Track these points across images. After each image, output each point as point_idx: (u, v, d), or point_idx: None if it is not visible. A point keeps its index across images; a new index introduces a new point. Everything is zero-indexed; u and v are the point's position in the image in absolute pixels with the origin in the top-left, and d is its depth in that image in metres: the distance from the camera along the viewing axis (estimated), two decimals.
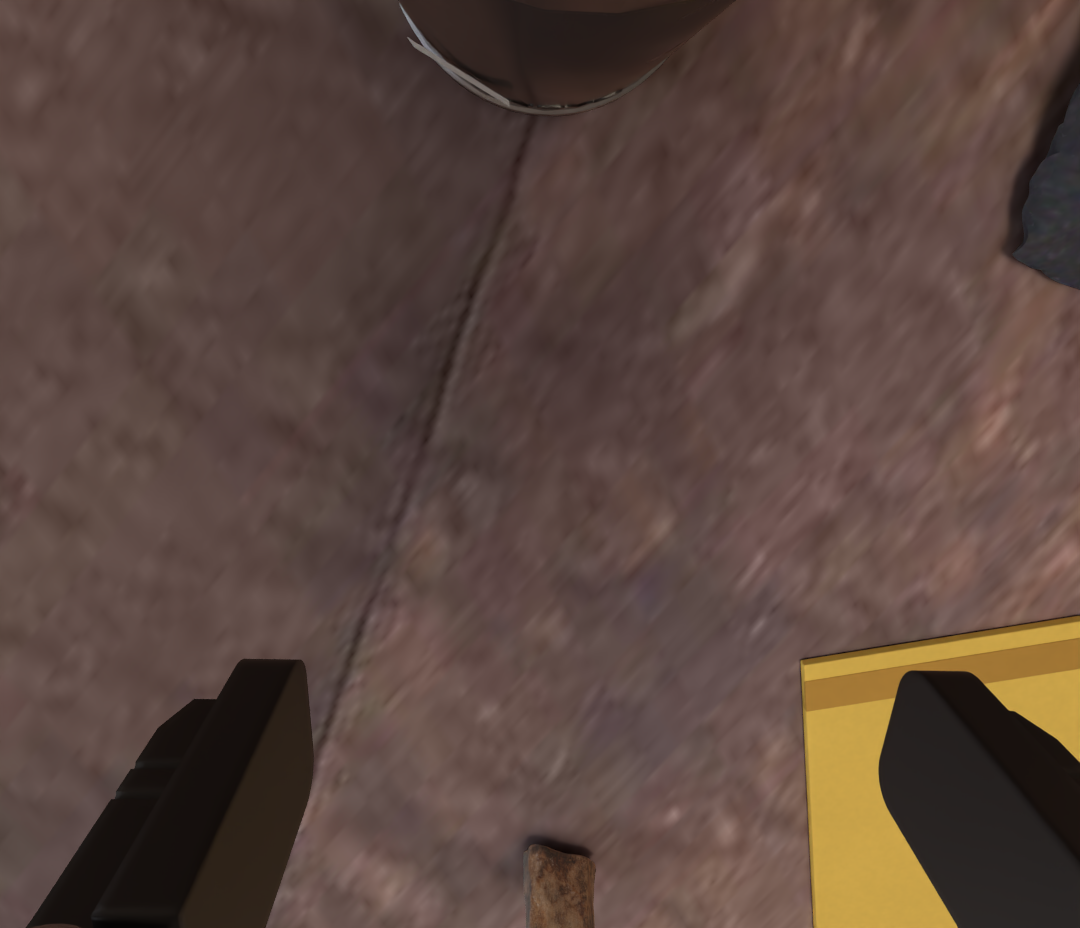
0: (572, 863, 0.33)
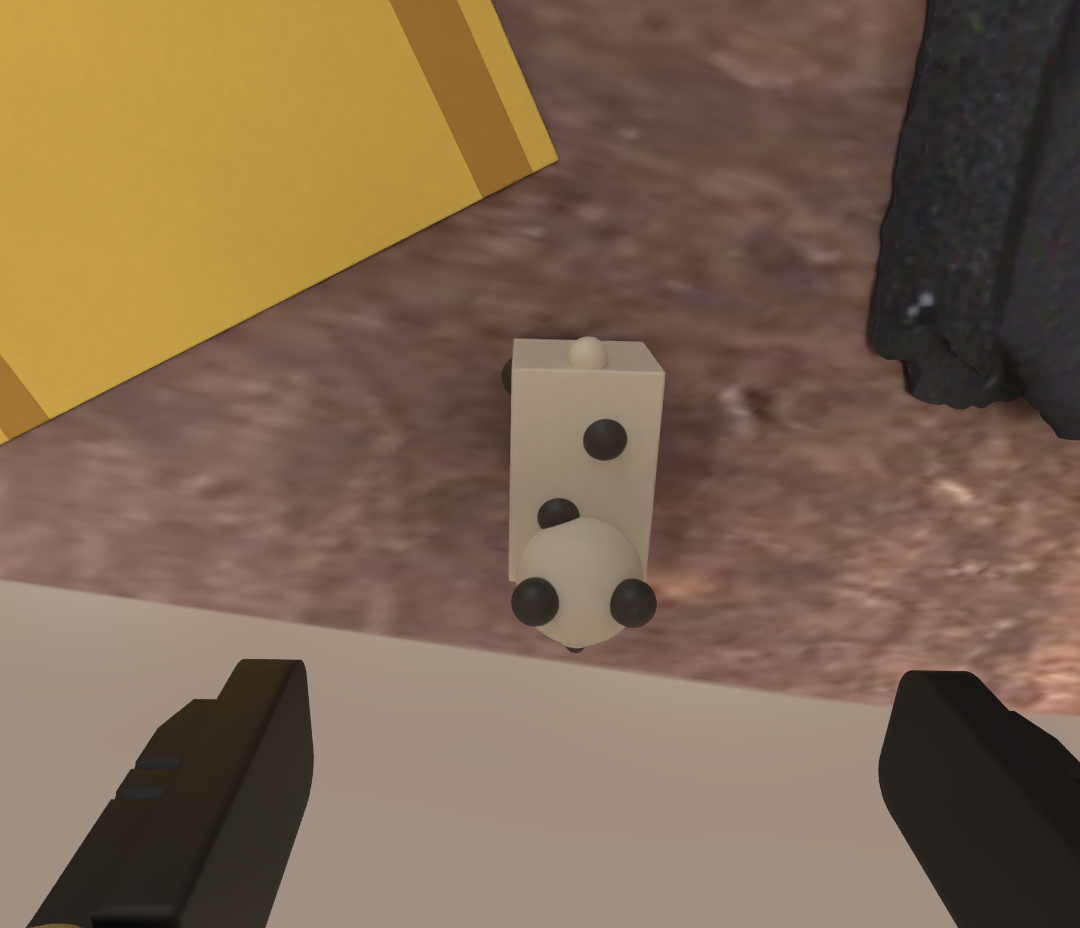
0: None
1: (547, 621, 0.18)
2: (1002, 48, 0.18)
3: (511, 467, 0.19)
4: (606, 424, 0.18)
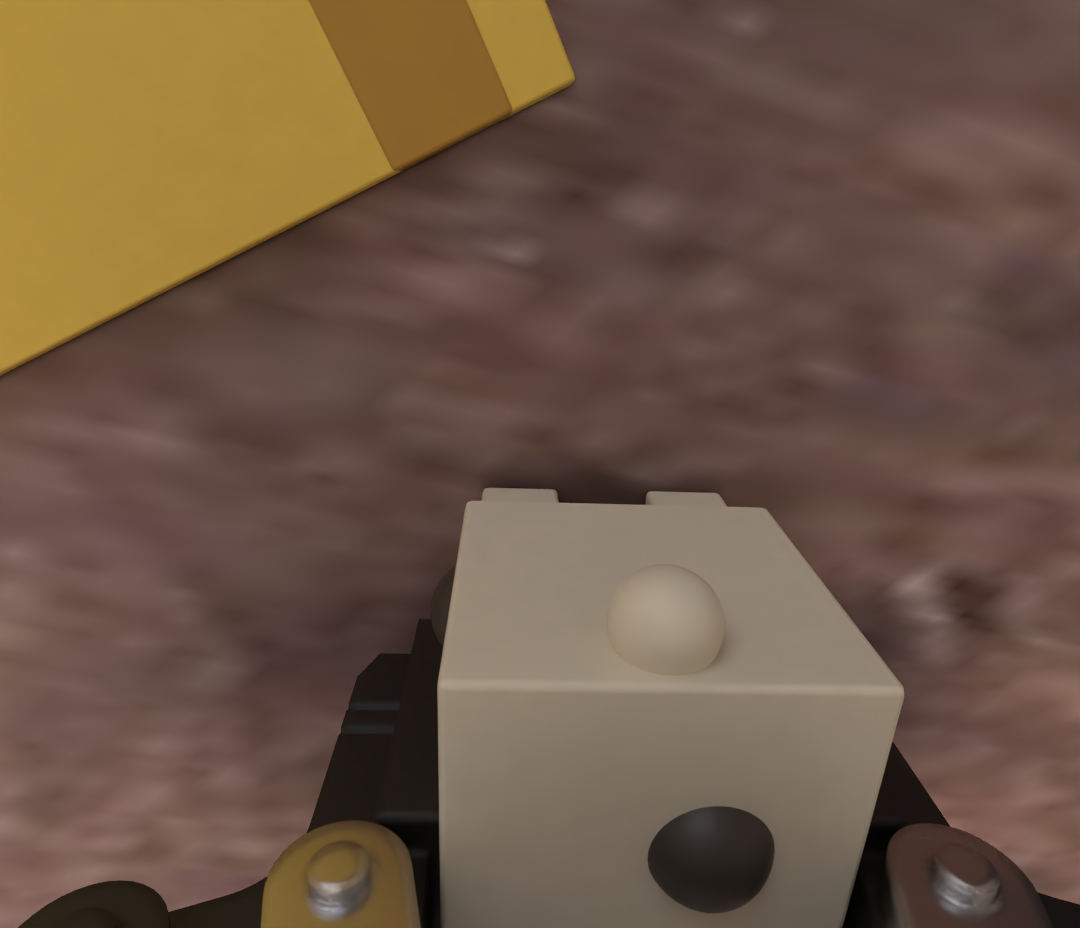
0: None
1: None
2: None
3: (443, 917, 0.07)
4: (722, 830, 0.06)
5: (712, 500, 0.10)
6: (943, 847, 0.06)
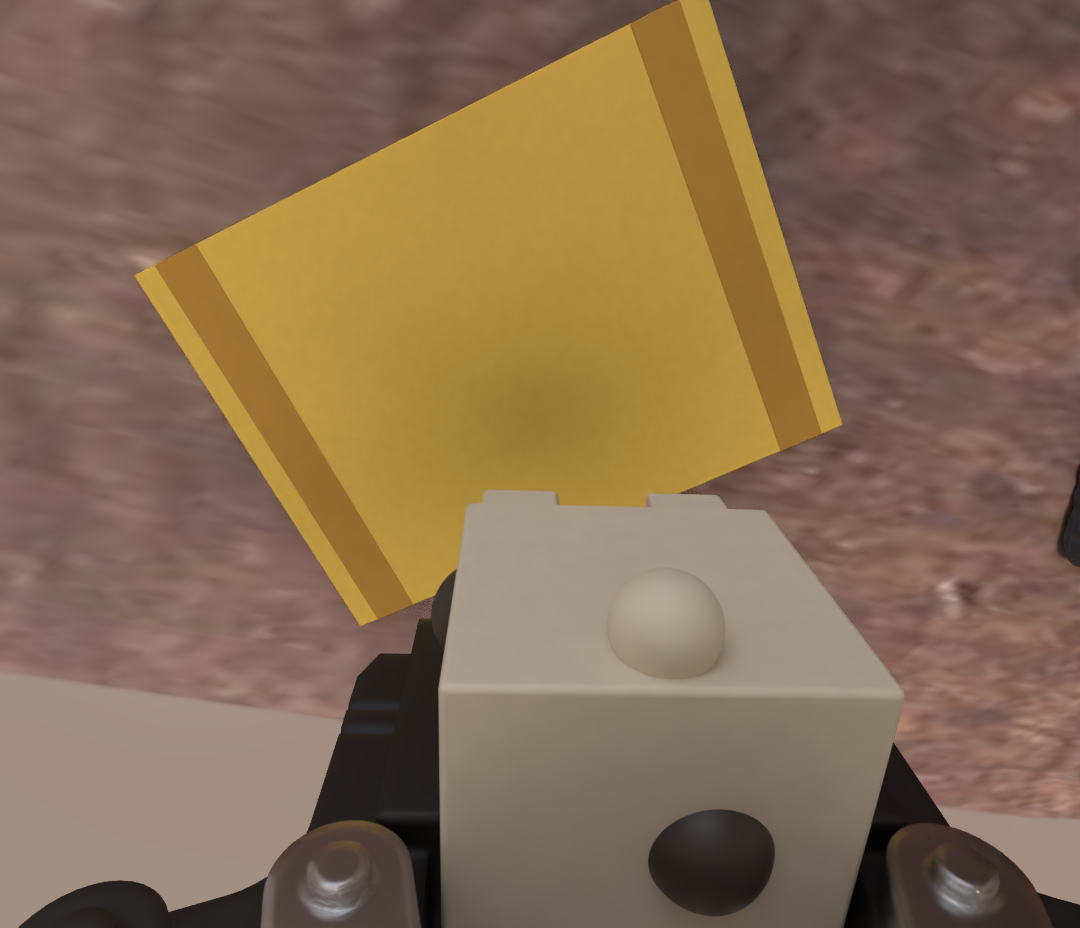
0: None
1: None
2: None
3: (444, 920, 0.07)
4: (721, 833, 0.06)
5: (712, 502, 0.10)
6: (943, 847, 0.06)
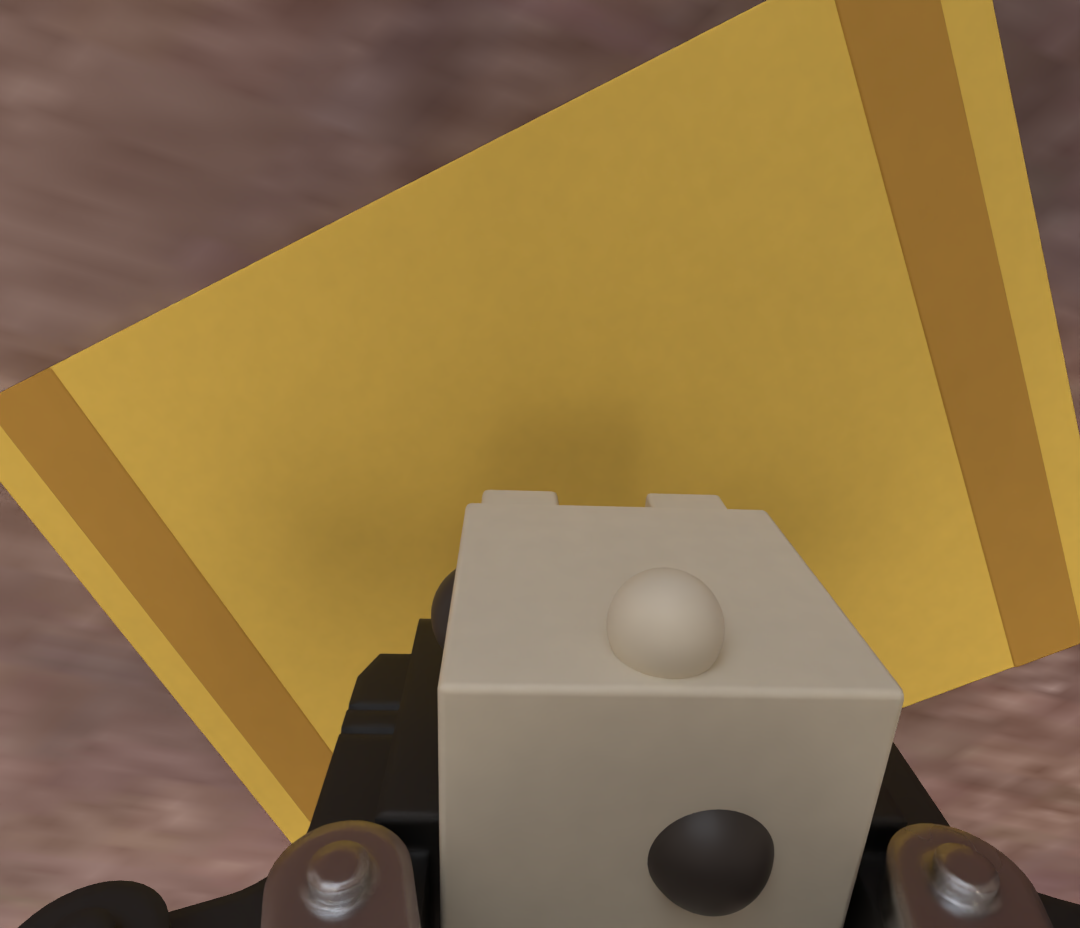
0: None
1: None
2: None
3: (443, 920, 0.07)
4: (720, 833, 0.06)
5: (712, 502, 0.10)
6: (943, 847, 0.06)
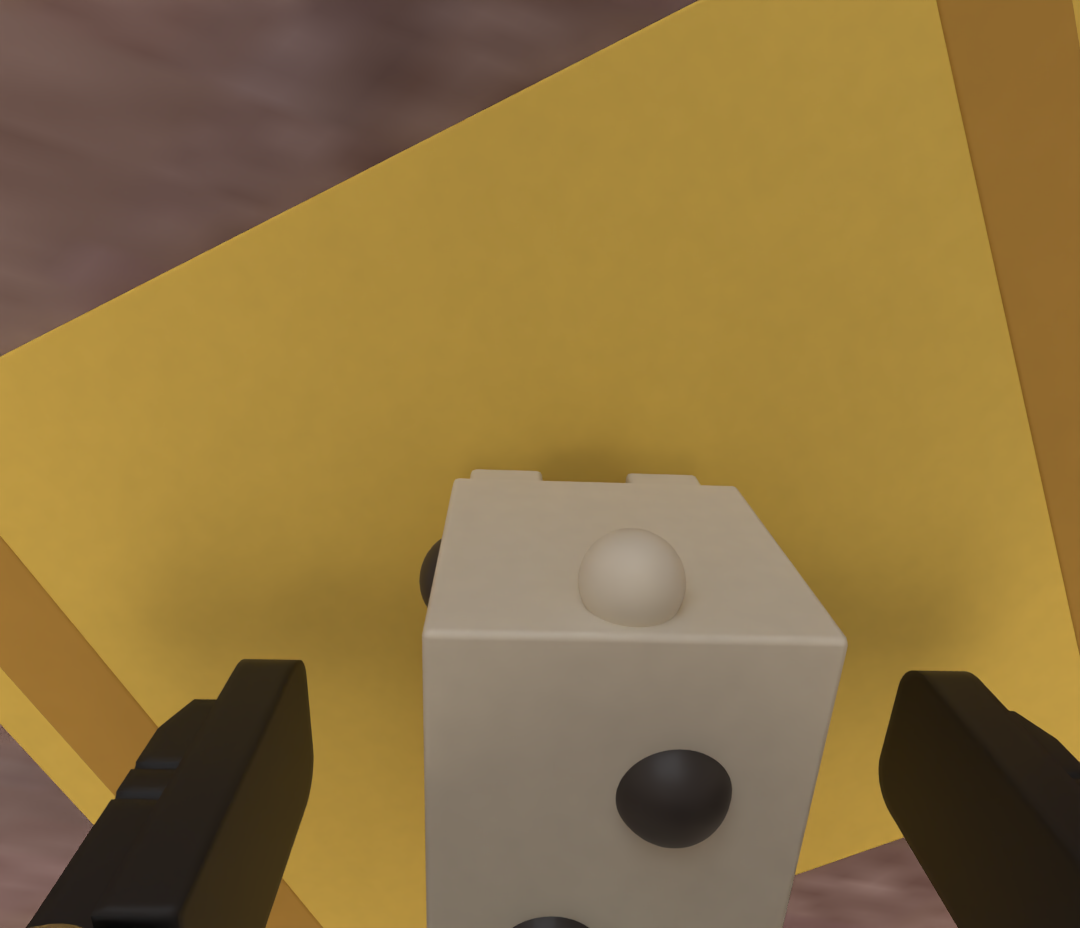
0: None
1: None
2: None
3: (428, 854, 0.07)
4: (682, 770, 0.07)
5: (688, 481, 0.11)
6: None
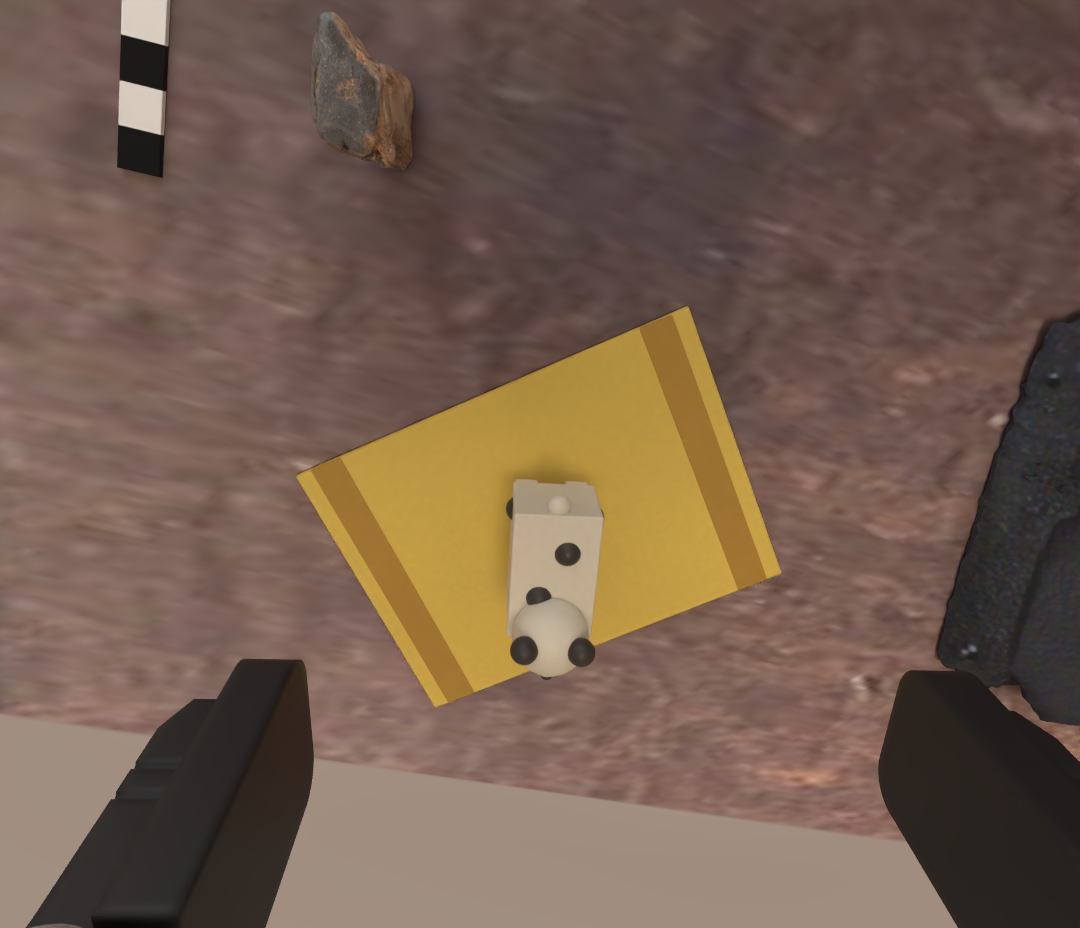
0: None
1: (531, 662, 0.30)
2: (1017, 543, 0.36)
3: (511, 568, 0.31)
4: (568, 546, 0.31)
5: (583, 484, 0.35)
6: None
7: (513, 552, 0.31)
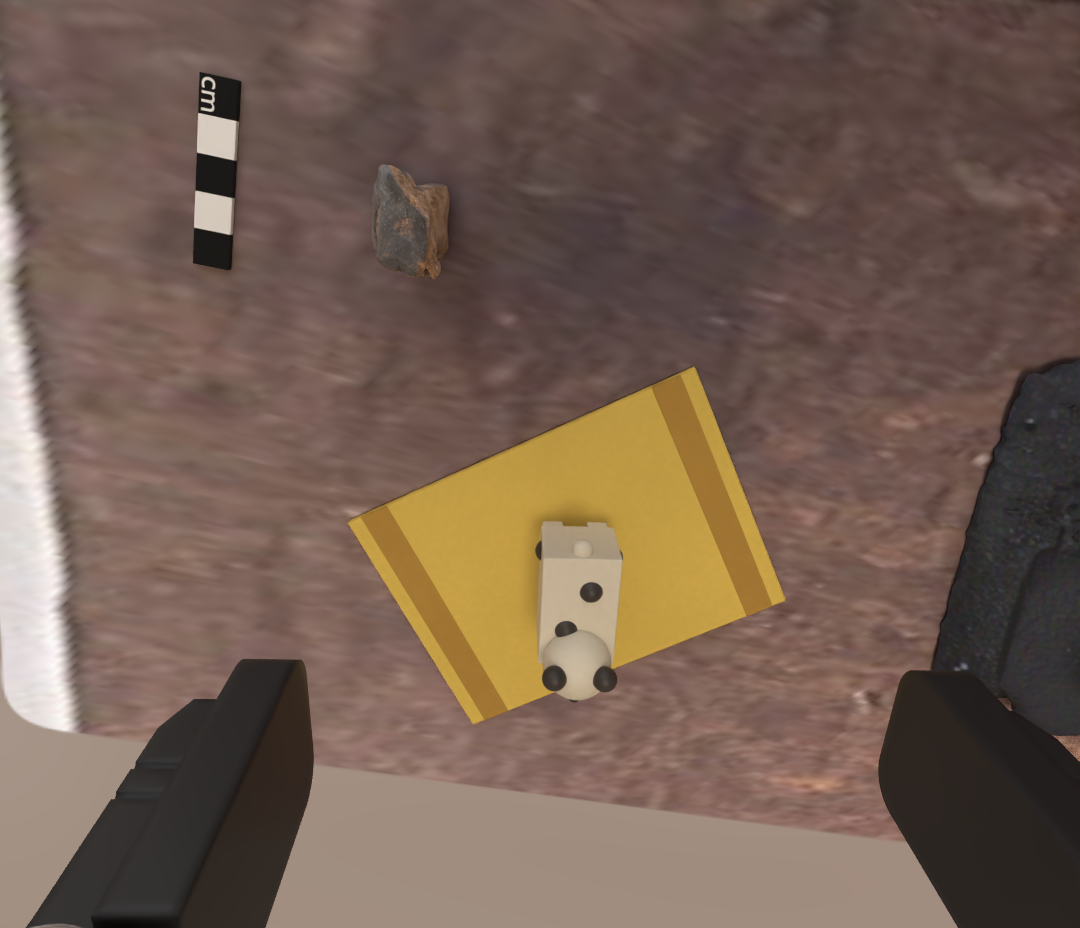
0: None
1: (560, 689, 0.34)
2: (1002, 571, 0.40)
3: (541, 605, 0.35)
4: (591, 585, 0.35)
5: (603, 524, 0.39)
6: None
7: (543, 591, 0.35)
